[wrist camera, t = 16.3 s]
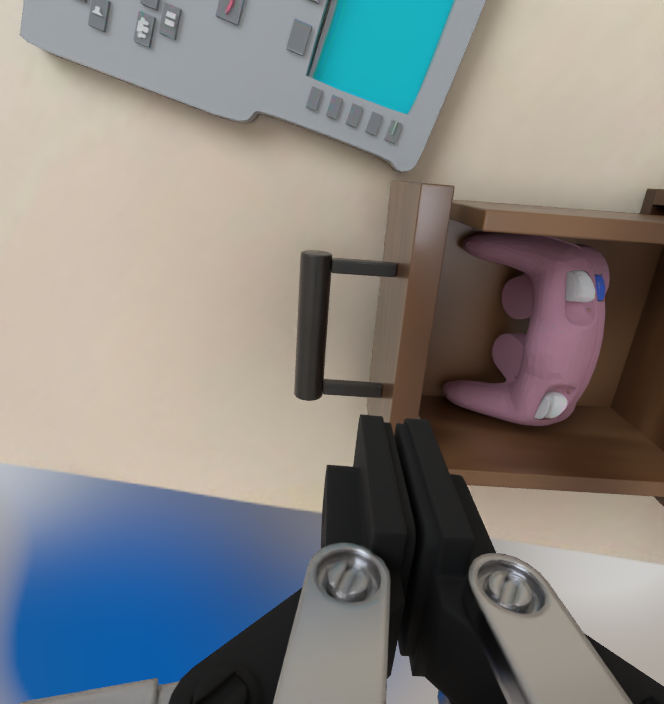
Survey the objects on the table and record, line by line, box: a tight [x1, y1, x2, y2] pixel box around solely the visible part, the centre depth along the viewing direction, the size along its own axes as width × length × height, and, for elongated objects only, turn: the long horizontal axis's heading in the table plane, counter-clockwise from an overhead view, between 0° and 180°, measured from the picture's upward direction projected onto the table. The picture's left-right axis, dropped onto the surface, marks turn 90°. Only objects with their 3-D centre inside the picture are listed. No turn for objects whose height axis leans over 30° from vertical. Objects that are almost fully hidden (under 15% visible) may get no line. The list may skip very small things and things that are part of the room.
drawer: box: [294, 181, 664, 497], centre depth 23 cm, size 20×13×9 cm
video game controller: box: [442, 232, 610, 426], centre depth 23 cm, size 10×5×7 cm, turn 178°
